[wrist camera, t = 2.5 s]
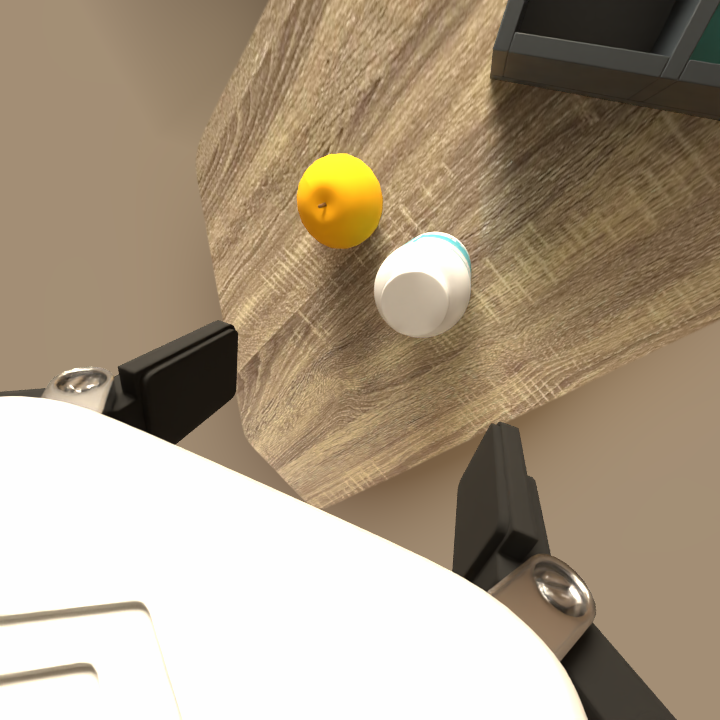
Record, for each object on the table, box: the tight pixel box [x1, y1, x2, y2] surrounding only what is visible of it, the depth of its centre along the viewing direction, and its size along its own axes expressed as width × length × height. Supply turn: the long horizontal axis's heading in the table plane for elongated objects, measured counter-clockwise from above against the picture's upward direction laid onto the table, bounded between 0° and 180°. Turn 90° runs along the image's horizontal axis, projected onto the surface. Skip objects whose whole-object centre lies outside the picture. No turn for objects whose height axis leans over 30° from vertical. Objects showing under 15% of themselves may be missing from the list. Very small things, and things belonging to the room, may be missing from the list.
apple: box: [297, 154, 383, 249], centre depth 31 cm, size 8×8×8 cm
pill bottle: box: [374, 232, 471, 338], centre depth 28 cm, size 8×7×14 cm
